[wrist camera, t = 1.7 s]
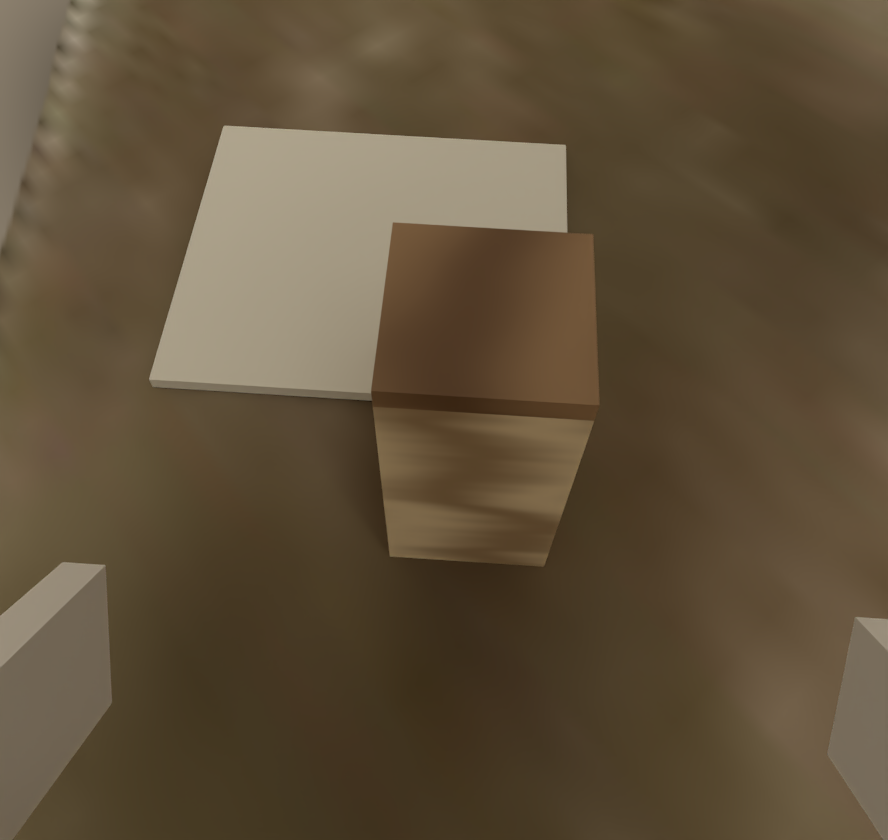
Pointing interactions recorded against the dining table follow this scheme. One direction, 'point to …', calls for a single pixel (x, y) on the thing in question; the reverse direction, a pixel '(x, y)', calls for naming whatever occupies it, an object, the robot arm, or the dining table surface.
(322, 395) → the felt mat
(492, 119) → the dining table surface
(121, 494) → the dining table surface
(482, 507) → the oak block
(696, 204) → the dining table surface
